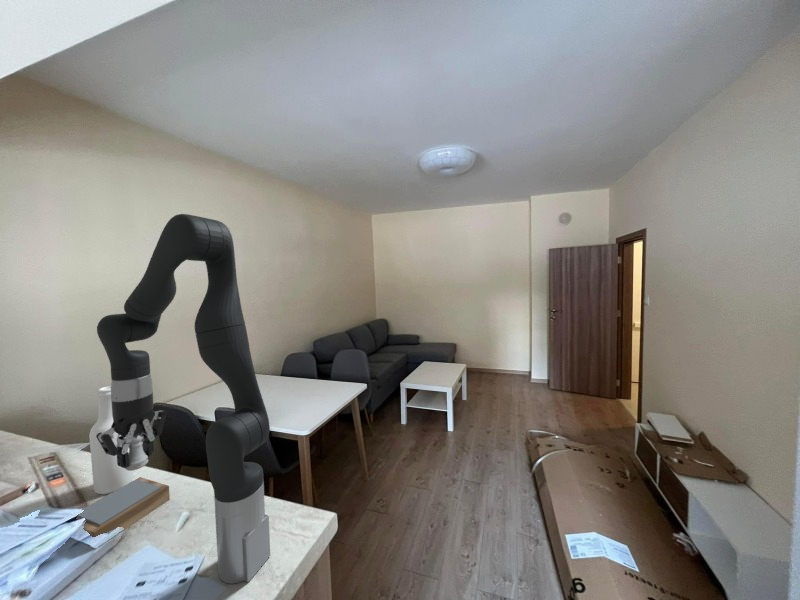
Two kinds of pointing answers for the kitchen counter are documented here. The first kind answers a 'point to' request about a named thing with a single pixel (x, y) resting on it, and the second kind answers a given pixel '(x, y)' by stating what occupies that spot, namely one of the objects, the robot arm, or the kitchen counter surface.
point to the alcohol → (104, 465)
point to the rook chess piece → (136, 453)
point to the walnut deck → (132, 511)
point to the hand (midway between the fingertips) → (136, 460)
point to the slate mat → (117, 502)
